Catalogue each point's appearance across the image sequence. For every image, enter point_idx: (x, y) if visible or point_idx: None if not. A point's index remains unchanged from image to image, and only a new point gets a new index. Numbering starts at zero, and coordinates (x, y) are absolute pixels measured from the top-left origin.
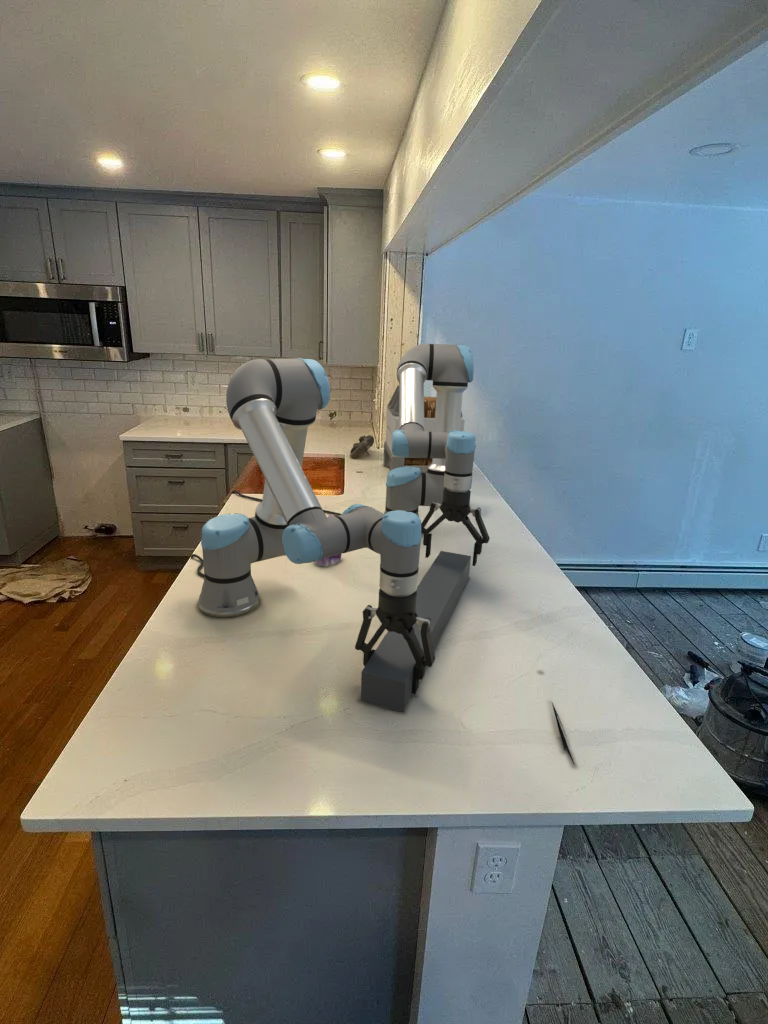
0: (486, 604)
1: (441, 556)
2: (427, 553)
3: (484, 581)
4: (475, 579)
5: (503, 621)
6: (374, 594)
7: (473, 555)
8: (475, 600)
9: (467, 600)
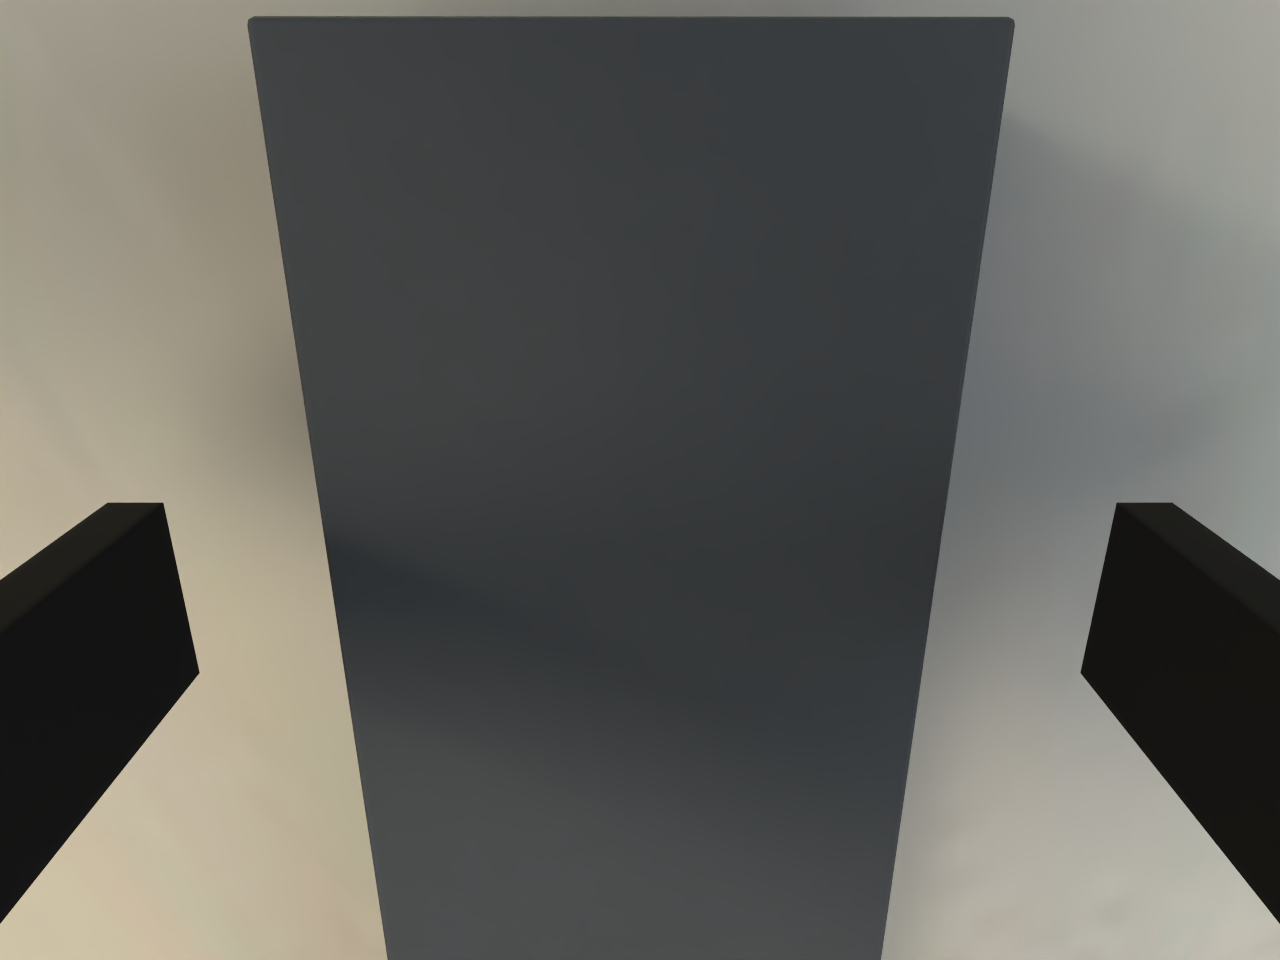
0: None
1: (384, 357)
2: (138, 732)
3: (1118, 79)
4: None
5: None
6: None
7: (1211, 830)
8: (1002, 640)
9: None
